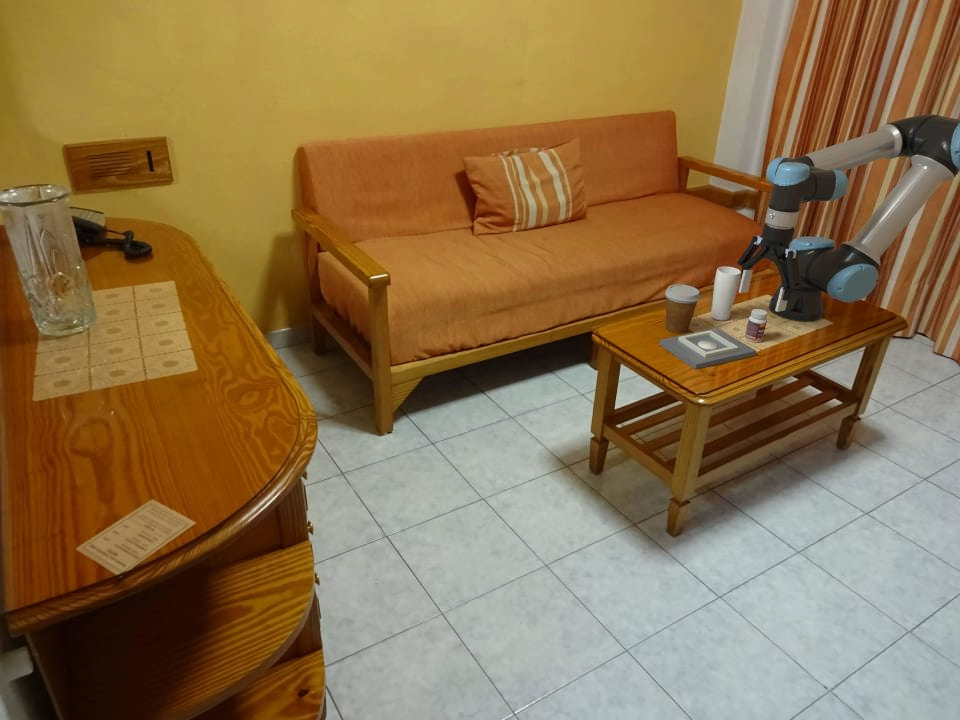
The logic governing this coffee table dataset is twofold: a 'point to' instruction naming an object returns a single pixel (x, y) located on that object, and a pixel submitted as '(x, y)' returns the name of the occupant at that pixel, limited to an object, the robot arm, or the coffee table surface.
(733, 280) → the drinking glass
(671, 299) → the disposable coffee cup
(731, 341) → the socket plate
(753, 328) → the pill bottle
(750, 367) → the coffee table surface
